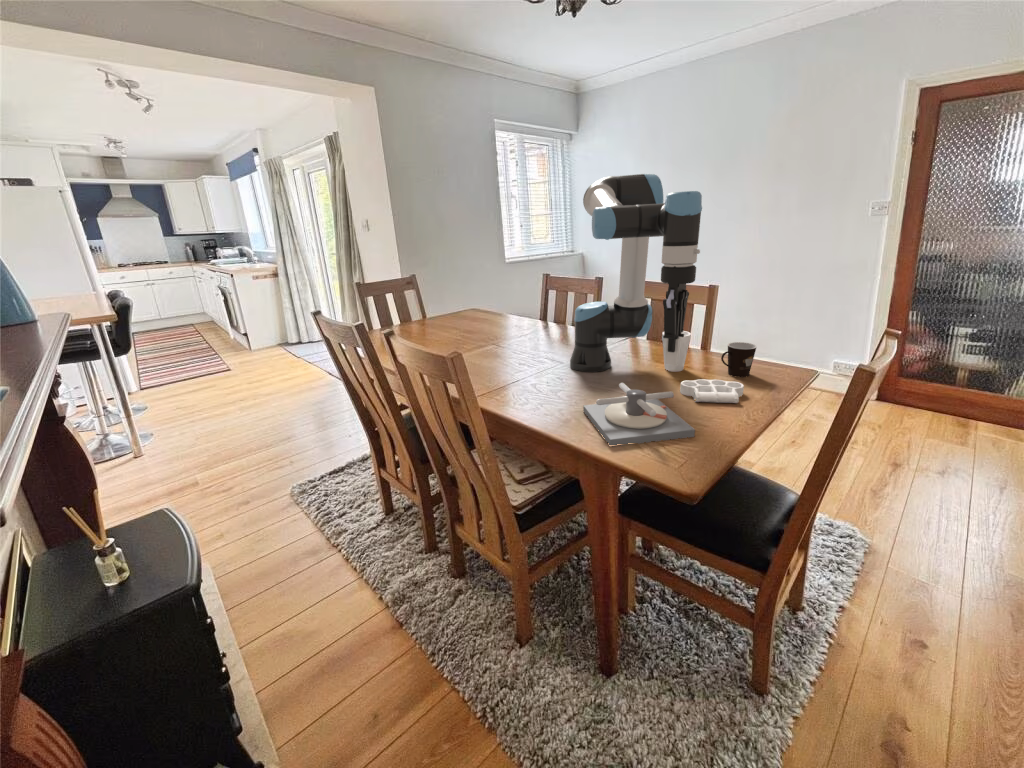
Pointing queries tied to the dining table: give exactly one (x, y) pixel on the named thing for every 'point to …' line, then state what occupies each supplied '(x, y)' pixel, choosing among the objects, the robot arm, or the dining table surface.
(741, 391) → the white brass knuckles
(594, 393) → the dining table surface
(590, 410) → the dial board
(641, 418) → the capstan
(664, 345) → the foam cup
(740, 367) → the coffee mug
